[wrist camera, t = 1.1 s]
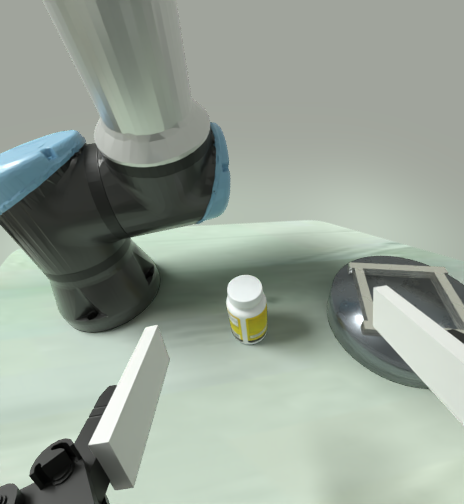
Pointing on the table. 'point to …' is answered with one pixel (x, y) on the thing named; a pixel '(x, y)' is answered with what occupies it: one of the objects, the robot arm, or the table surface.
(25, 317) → the table surface
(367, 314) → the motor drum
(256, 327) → the supplement bottle
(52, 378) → the table surface
